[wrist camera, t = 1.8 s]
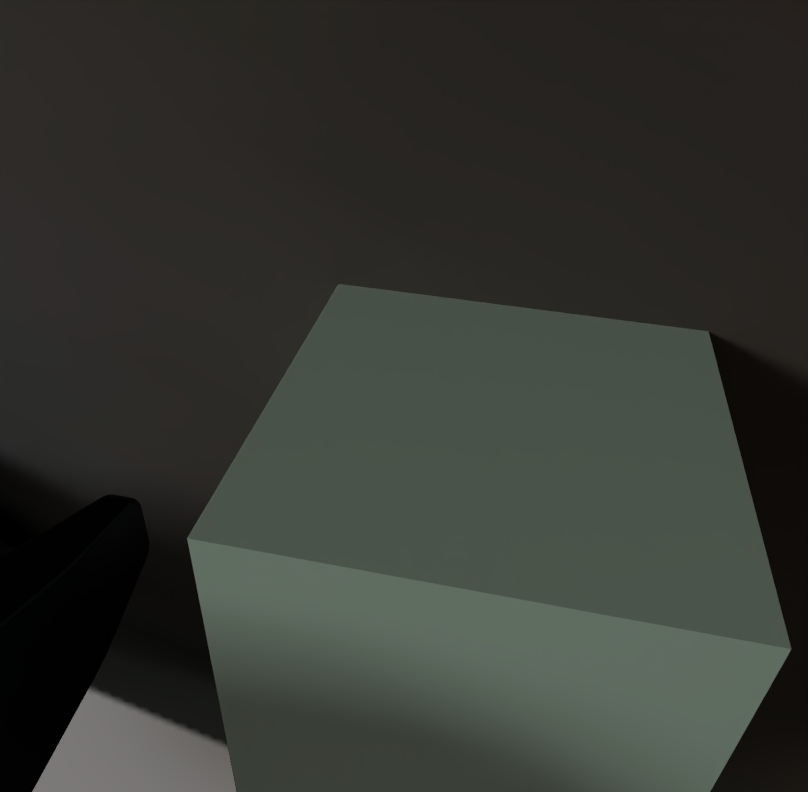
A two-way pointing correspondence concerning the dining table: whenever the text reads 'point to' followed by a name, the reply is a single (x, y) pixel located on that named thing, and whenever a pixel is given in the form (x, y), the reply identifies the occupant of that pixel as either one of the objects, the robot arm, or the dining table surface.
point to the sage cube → (487, 559)
